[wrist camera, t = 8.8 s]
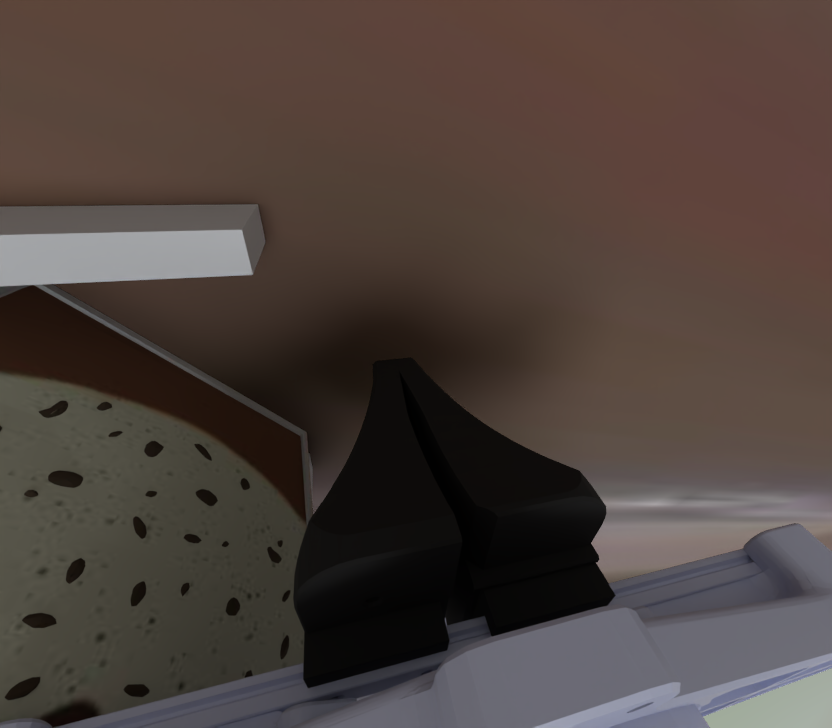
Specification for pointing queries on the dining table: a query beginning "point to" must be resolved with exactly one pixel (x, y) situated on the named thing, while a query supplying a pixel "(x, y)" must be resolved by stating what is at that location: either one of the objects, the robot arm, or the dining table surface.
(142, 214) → the grey flat tray
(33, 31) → the dining table surface
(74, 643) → the food container
